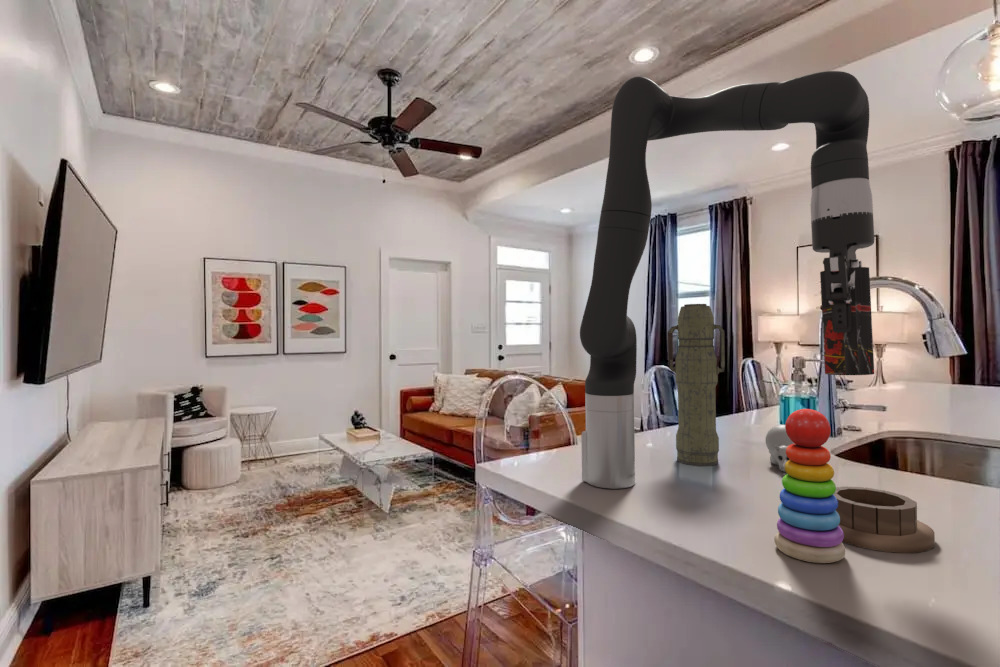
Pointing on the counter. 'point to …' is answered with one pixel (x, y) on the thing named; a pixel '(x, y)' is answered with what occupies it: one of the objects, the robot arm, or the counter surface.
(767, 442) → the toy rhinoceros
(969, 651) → the counter surface
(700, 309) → the thermos
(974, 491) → the counter surface
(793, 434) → the stacking toy
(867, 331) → the deodorant
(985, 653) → the counter surface
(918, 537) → the socket stand
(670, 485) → the counter surface
